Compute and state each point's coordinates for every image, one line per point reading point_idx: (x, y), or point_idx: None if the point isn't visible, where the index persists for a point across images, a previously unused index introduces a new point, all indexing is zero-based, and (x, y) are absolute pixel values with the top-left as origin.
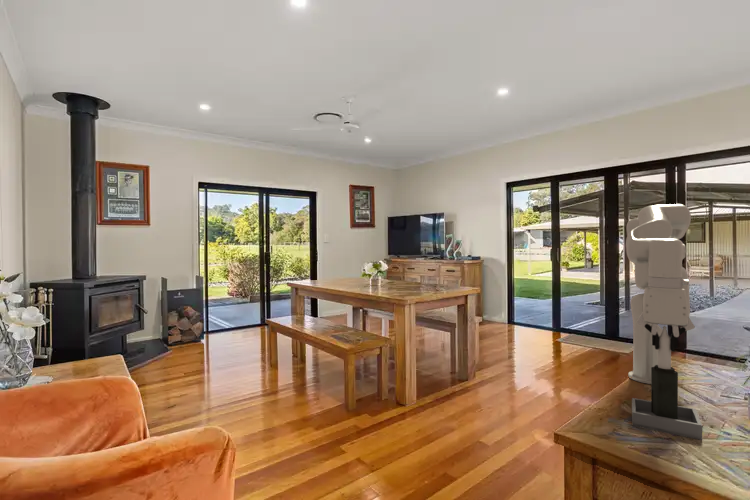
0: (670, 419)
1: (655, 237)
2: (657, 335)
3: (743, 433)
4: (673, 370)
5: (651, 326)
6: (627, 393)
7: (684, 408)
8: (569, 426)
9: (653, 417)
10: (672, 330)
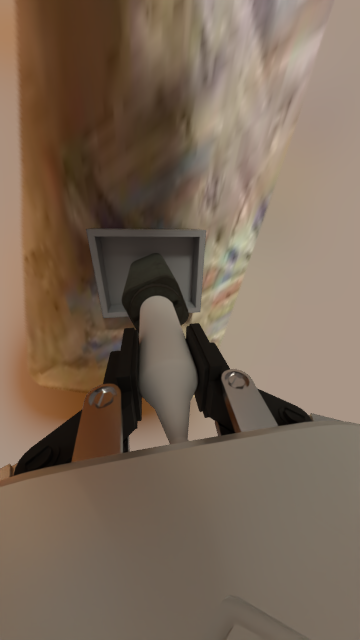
0: None
1: None
2: (135, 427)
3: (255, 241)
4: (179, 321)
5: (81, 447)
6: (52, 61)
7: (187, 236)
8: (29, 360)
9: None
10: (226, 405)
